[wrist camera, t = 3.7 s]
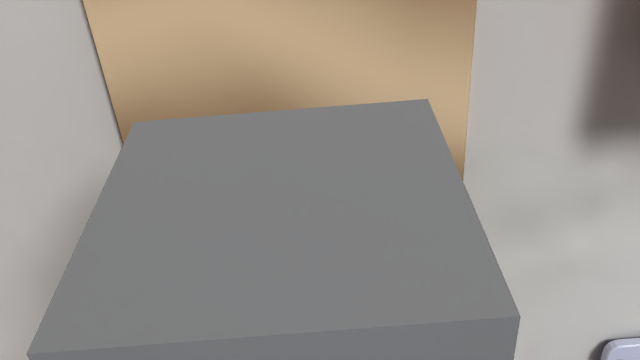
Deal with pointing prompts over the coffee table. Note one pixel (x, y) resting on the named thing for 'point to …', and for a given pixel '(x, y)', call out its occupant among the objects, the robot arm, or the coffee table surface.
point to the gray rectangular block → (283, 245)
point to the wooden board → (284, 57)
